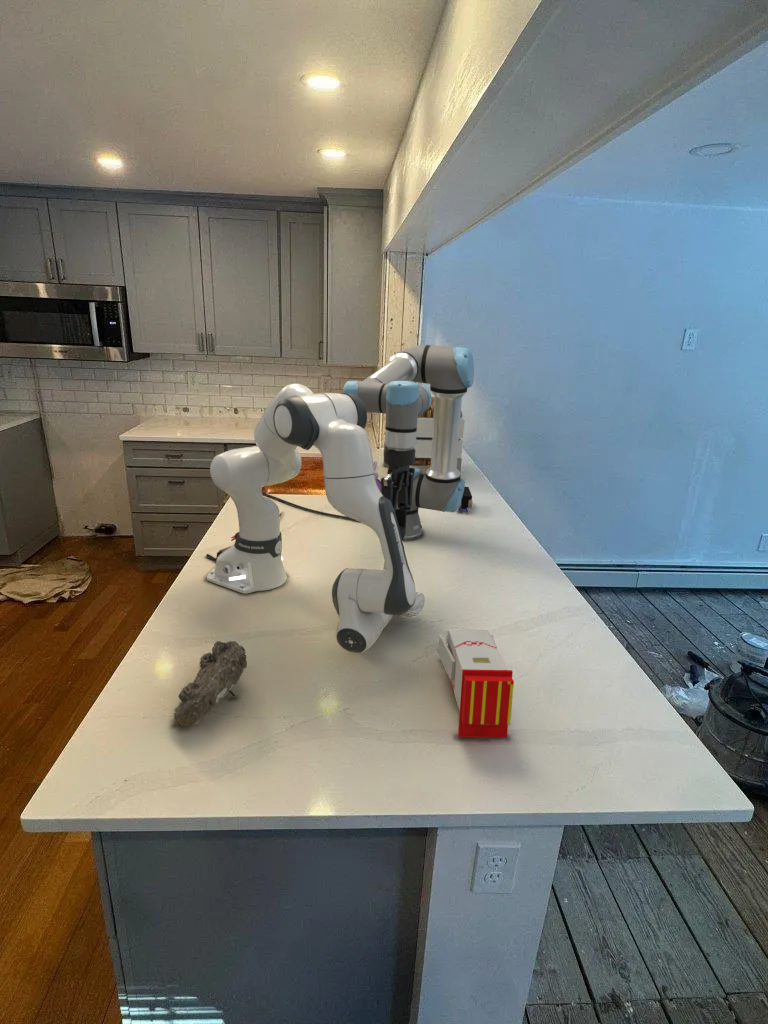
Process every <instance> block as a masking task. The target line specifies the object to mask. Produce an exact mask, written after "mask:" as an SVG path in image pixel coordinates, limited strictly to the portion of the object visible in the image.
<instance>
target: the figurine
mask: <svg viewBox="0 0 768 1024" xmlns="http://www.w3.org/2000/svg"><path fill="white" fill-rule="evenodd" d="M373 464H374V474H375V480H376V483H377V486H378V488H379V490H380V492H381V493H382V486H381V479H379V474H378V471H377V468H378V461H376V460H375V461H373Z"/></svg>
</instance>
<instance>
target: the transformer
mask: <svg viewBox="0 0 768 1024" xmlns="http://www.w3.org/2000/svg"><path fill="white" fill-rule="evenodd" d="M431 397H432V401H431V405H430V407H429V408H428V409H427V411H426V412H425V413H423V414H422V415H419V416H418V417H417V434H416V447H414V449H415V463H414V464H413V465H411V466H410V467H417V466H418V467H431V453H432V434H433V416H434V397H435V396H431ZM464 429H465V419H464V418H463V411H461V415H460V428H459V442H458V455H457V469H458V470H459V471H460V473H461V472H462V461H463V460H462V453H463V442H464V441H463V440H462V439H463V438H464V431H465V430H464ZM385 447H387V446H385V441H384V442H383V450H384V449H385ZM383 466H384V467H389V466H388V465H387V464H386V463H385V462H384V461H383ZM461 474H462V473H461Z"/></svg>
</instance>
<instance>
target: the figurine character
mask: <svg viewBox="0 0 768 1024" xmlns="http://www.w3.org/2000/svg"><path fill="white" fill-rule="evenodd" d="M473 502H474V501H473V495H472V492H471V489H470V486H465V487H464V492H463V496H462V499H461V502H460V505H459V507H458V512H459V513H462V511H465V512H466V513H469V510H468V509H470V510H471V509H473V507H474V503H473Z"/></svg>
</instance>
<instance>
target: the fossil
mask: <svg viewBox="0 0 768 1024" xmlns="http://www.w3.org/2000/svg"><path fill="white" fill-rule="evenodd" d="M247 666H248V661H247V652H246V648H244V646H242V645H240V644H239V642H237V641H236V640H229V641H227V642H225V641H221V640H217V641H216V642H214V644H213V646H212V648H211V652H206V653H204V654H203V655H202V656H201V657H200V661H199V667H200V669H199V670H198V673H197V674H196V676H195V678H194V680H193V682H189V683H187V684H186V686H184V687H182V689H181V690H180V692H179V694H178V699H179V700H180V701H181V702H180V703H179V705H178V706H177V707H176V708H175V709H174V712H175V713H173V716H174V717H173V718H174V723H175V725H176V724H177V725H180V726H181V727H187V726H192V725H198V724H200V723H201V721H203V719H204V718H206V717H207V716H209V715H210V713H211V712H212V711H213V710H214V709H215V708H216V707H218V705H220V704H221V703H222V701H223V700H224V697H226V696H227V695H228V694H230V695H231V696H232V697H233V698H235V697H236V694H235V693H234V692H233V691H232V688H233V686H235V685H237V684H238V682H239V681H240V680H241V676H242V674H243V673H244V670H245V669H247Z"/></svg>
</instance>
